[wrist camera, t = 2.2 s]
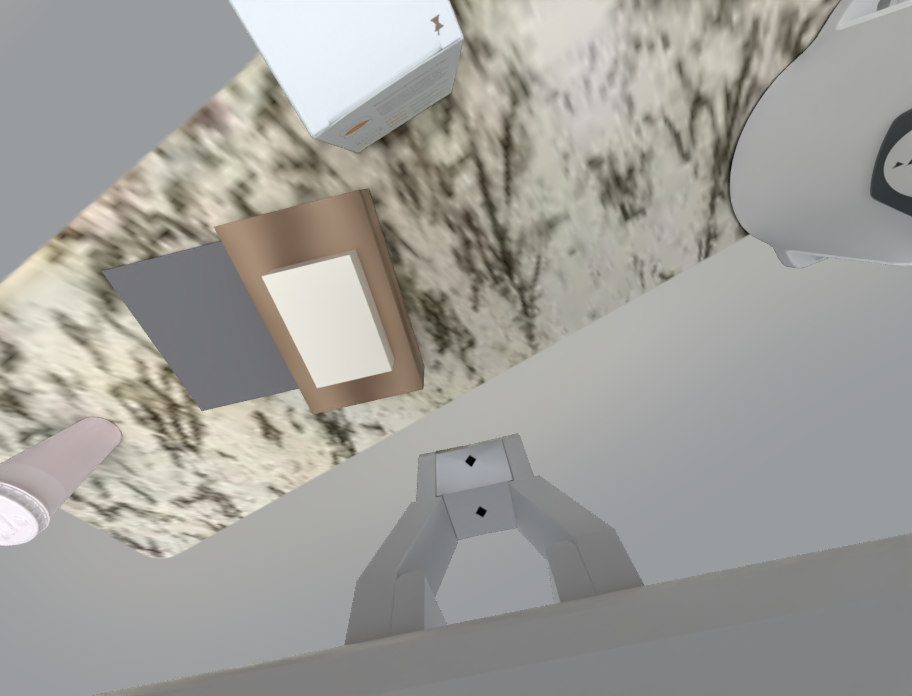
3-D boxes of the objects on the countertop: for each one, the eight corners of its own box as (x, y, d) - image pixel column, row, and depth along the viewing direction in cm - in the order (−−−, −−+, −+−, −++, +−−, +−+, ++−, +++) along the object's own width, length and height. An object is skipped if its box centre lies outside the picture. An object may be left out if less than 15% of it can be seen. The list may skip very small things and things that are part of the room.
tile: (355, 249, 23) (349, 254, 22) (394, 358, 27) (391, 370, 26) (274, 269, 24) (261, 276, 22) (324, 374, 28) (317, 388, 26)
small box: (411, -5, 21) (396, -157, 11) (453, 94, 23) (469, 35, 14) (306, 69, 22) (215, -15, 13) (356, 155, 24) (310, 140, 15)
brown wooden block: (369, 188, 25) (358, 190, 22) (424, 366, 33) (423, 389, 29) (243, 220, 26) (214, 226, 22) (325, 389, 33) (312, 414, 29)
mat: (250, 233, 26) (247, 234, 26) (321, 380, 32) (320, 383, 32) (107, 269, 27) (101, 271, 26) (204, 407, 33) (201, 410, 32)
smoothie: (87, 394, 31) (-140, 534, 19) (151, 436, 34) (-12, 584, 21) (48, 427, 33) (-188, 580, 20) (112, 465, 35) (-62, 621, 23)
